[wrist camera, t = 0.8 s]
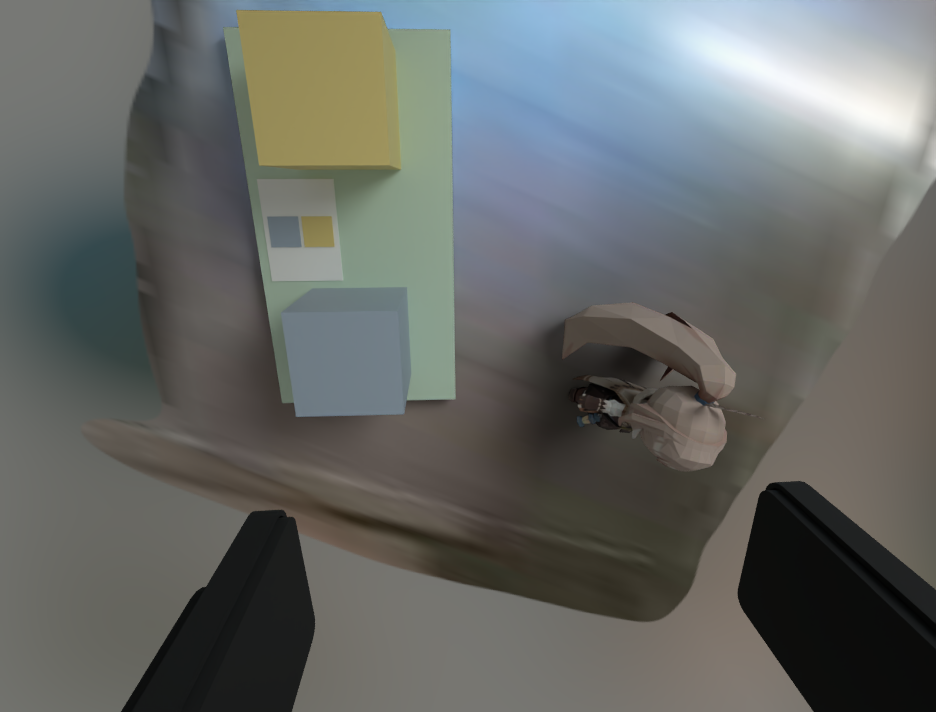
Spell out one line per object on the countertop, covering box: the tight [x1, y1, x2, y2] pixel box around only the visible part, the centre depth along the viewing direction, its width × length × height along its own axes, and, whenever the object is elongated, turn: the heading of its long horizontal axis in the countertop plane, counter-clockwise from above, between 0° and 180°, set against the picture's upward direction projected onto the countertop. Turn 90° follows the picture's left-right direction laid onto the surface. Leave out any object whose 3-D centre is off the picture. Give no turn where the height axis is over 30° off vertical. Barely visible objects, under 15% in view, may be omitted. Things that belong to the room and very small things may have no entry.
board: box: [223, 27, 455, 403], centre depth 29 cm, size 22×12×1 cm, turn 0°
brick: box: [236, 10, 401, 170], centre depth 23 cm, size 6×6×6 cm
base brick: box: [281, 287, 411, 417], centre depth 28 cm, size 6×6×6 cm
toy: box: [562, 302, 763, 471], centre depth 27 cm, size 9×8×15 cm
